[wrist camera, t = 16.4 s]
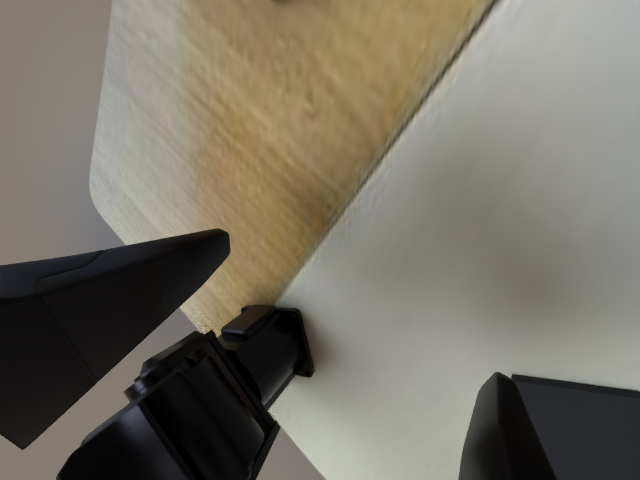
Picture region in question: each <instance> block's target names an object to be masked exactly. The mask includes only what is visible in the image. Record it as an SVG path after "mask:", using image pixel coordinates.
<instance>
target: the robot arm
mask: <svg viewBox="0 0 640 480" xmlns="http://www.w3.org/2000/svg"><path fill="white" fill-rule="evenodd" d="M229 254H230V238H229V234H228V233H227V232H225V231H224V230H222V229H219V228H217V229H211V230H206V231H201V232H196V233H190V234H185V235H180V236H174V237H169V238H164V239H159V240H153V241H148V242H143V243H137V244H132V245H127V246H122V247H117V248H111V249H106V250H105V251H104V250H100V251H95V252H90V253H84V254H78V255H73V256H66V257H59V258H53V259H45V260H38V261H31V262H23V263H16V264H8V265H0V434H1V435H2V436H4V437H5V438H6V439H8V440H9V441H10V442H12V443H13V444H15V445H16V446H17V447H19V448H20V449H22V450H23V449H25V448H26V447H27V446H29V445H30V444H31V443H32V442H33V441H34V440H36V439H37V438H38V437H39V436H40V435H41V434H42V433H43V432H44V431H45V430H46V429H47V428H48V427H49V426H51V425H52V424H53V423H54V422H55V421H56V420H57V419H58V418H59V417H60V416H61V415H63V414H64V413H65V412H66V411H67V410H68V409H69V408H70V407H71V406H72V405H73V404H74V403H76V402H77V401H78V400H79V399H80V398H81V397H82V396H83V395H84V394H85V393H86V392H88V391H89V390H90V389H91V388H92V387H93V386H94V385H95V384H96V383H97V381H99V380H100V379H101V378H103V377H104V376H105V375H106V374H107V373H108V372H109V371H110V370H111V369H112V368H113V367H115V366H116V365H117V364H118V363H119V362H120V361H121V360H122V359H123V358H124V357H125V356H126V355H127V354H129V353H130V352H131V351H132V350H133V349H134V348H135V347H136V346H137V345H138V344H139V343H141V342H142V341H143V340H144V339H145V338H146V337H147V336H148V335H149V334H150V333H151V332H152V331H153V330H155V329H156V328H157V327H158V326H159V325H160V324H161V323H162V322H163V321H164V320H166V319H167V318H168V317H169V316H170V315H171V314H172V313H173V312H174V311H175V310H176V309H177V308H179V307H180V306H181V305H182V304H183V303H184V302H185V301H186V300H187V299H188V298H189V297H190V296H192V295H193V294H194V293H195V292H196V291H197V290H198V289H199V288H200V287H201V286H202V285H203V284H204V283H205V282H206V281H207V280H208V278H209V277H210V276H211V275H212V274H213V273H214V272H215V271H216V269H217V268H218V267H219V266H220V265H221V264H222V263H223V262H224V260H225V259H226V258H227V257H228V256H229ZM241 313H242V314H240V315H239V316H237V317H236V318H235V319H233V320H232V321H231V322H229V323H228V324H226V325H225V326H224V327H222V329H221V335H220V336H218V337H217V338H216V334H215V333H214V331H213V330H210V331H209V332H207V333H206V334H203V333H200V332H198V331H194V332H192V333H191V334H189V335H188V336H186V337H185V338H183V339H182V340H180V341H179V342H177V343H176V344H174V345H172V346H170V347H169V348H167V349H165V350H164V351H162V352H160V353H158V354H156V355H155V356H153V357H151V358H150V359H148V360H147V361H146V362H144V363H143V365H142V368H141V372H140V375H139V376H138V378H136V379H135V380H134V382H135V383H134V384H133V385H132V386H131V387H129V388H128V389H126V390H125V391H124V394H125V395H126V397H127V398H128V400H129V401H130V403H129V404H128V405H126V406H125V407H123V408H122V409H121V410H119V411H118V412H117V413H115V414H114V415H113V416H112V417H110V418H109V419H108V420H106V421H105V422H104V423H102V424H101V425H100V426H98V427H97V428H96V429H95V430H93V431H92V432H91V433H89V434H88V435H87V436H86V437H85V439H84V440H83V442H82V444H81V446H80V447H79V448H78V449H77V450H76V451H74V452H73V453H72V454H71V455H70V457H69V458H68V460H67V461H66V463H65V464H64V466H63V468H62V469H61V470H60V472H59V474H58V475H57V477H56V480H256V478H257V476H258V474H259V472H260V470H261V468H262V465H263V463H264V461H265V459H266V457H267V455H268V453H269V451H270V449H271V446H272V444H273V442H274V440H275V438H276V436H277V434H278V432H279V430H280V426H279V424H278V423H277V421H274V419H273V418H272V416H271V415H270V414H269V412H268V409H269V408H270V407H271V406H272V404H273V403H274V402H275V401H276V399H277V398H278V397H279V396H280V394H281V393H282V392H283V391H284V389H285V388H286V387H287V386H288V384H289V383H290V382H291V380H292V379H293V378H294V377H295V375H299V376H304V377H312V375H313V374H314V367H313V363H312V358H311V354H310V350H309V346H308V341H307V337H306V333H305V329H304V324H303V320H302V316H301V313H300V311H299V310H298V309H295V308H279V307H275V306H267V305H253V306H244V307H243V308H242V309H241ZM294 314H295V315H296V316H295V315H294ZM458 480H558V479H557V477H556V475H555V472H554V470H553V468H552V466H551V463H550V461H549V459H548V456H547V454H546V452H545V449H544V447H543V445H542V442H541V440H540V438H539V435H538V433H537V431H536V428H535V426H534V424H533V421H532V419H531V417H530V414H529V412H528V410H527V407H526V405H525V403H524V400H523V398H522V396H521V393H520V391H519V389H518V387H517V384H516V382H515V381H514V380H513V379H511V378H509V377H508V376H506V375H504V374H502V373H500V372H495V373H494V374H493V375H492V376H491V377H490V378H489V379H488V380H487V381H486V382H485V383H484V384H483V386H482V387H481V388H480V390H479V393H478V396H477V399H476V403H475V407H474V410H473V414H472V417H471V421H470V425H469V428H468V432H467V436H466V439H465V443H464V447H463V452H462V458H461V465H460V472H459V479H458Z"/></svg>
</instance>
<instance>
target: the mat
mask: <svg viewBox="0 0 640 480" xmlns="http://www.w3.org/2000/svg"><path fill="white" fill-rule="evenodd" d="M512 379H513V380H514V381H515V382H516V384H517V387H518V389H519V391H520V393H521V396H522V398H523V400H524V403H525V405H526V407H527V410H528V412H529V414H530V417H531V419H532V421H533V424H534V426H535V428H536V431H537V433H538V435H539V438H540V440H541V442H542V445H543V447H544V449H545V452H546V454H547V456H548V459H549V461H550V463H551V466H552V468H553V470H554V472H555V475H556V477H557V479H558V480H640V392H637V391H629V390H622V389H615V388H607V387H600V386H593V385H585V384H578V383H570V382H563V381H556V380H548V379H541V378H534V377H526V376H519V375H512Z"/></svg>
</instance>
